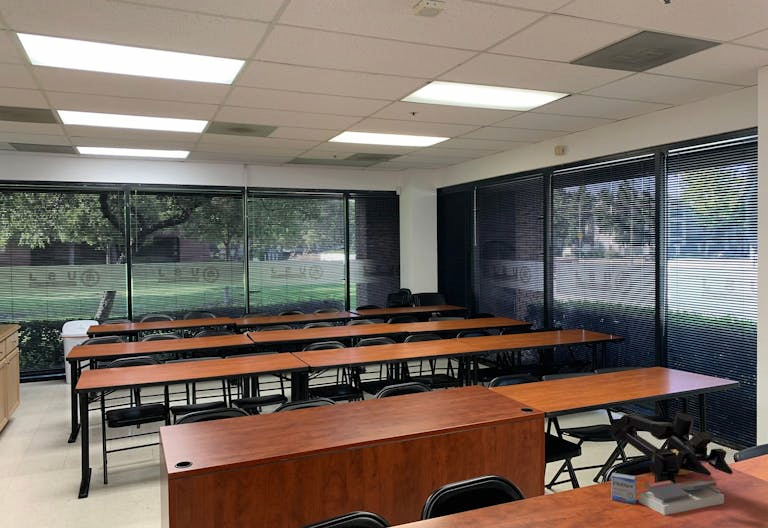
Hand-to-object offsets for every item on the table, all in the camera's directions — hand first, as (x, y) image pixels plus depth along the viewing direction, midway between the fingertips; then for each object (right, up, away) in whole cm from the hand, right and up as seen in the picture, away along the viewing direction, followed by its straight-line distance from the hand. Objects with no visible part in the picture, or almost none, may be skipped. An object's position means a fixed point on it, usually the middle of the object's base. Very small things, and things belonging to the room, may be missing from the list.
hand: (721, 473), depth 183 cm
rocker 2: (0, -10, +14) cm, 17 cm away
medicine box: (-26, -15, +15) cm, 33 cm away
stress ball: (+7, -15, +39) cm, 42 cm away
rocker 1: (-13, -10, +10) cm, 19 cm away
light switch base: (-7, -15, +12) cm, 20 cm away
